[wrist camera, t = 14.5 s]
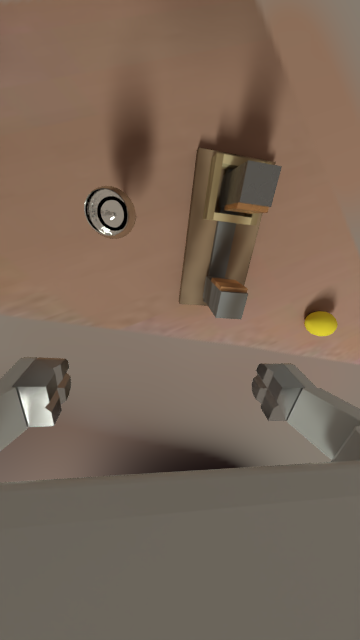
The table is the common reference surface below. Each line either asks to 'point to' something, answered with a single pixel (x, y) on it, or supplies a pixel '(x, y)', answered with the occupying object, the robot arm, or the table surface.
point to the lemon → (320, 323)
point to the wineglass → (110, 212)
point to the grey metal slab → (249, 187)
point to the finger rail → (217, 240)
